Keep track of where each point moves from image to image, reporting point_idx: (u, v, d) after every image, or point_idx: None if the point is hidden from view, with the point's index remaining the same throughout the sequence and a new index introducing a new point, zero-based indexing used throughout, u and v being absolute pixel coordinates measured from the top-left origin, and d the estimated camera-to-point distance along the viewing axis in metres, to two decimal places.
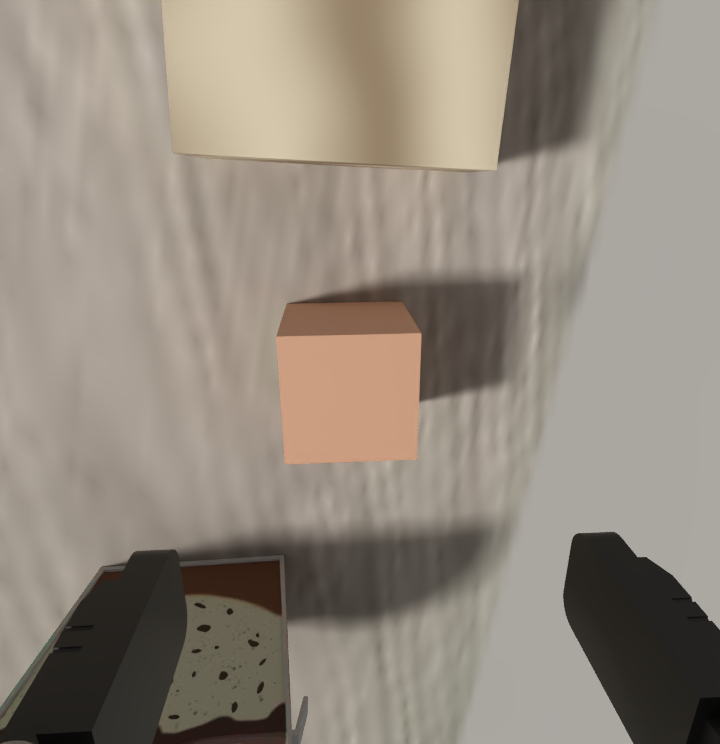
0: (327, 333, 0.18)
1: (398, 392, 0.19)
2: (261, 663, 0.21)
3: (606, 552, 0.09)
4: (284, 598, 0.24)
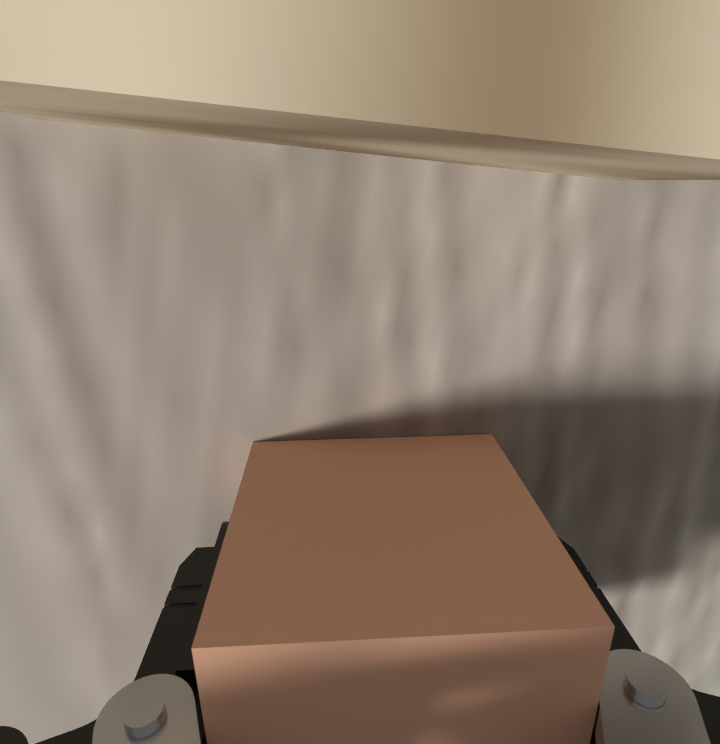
0: (341, 625, 0.06)
1: None
2: None
3: None
4: None
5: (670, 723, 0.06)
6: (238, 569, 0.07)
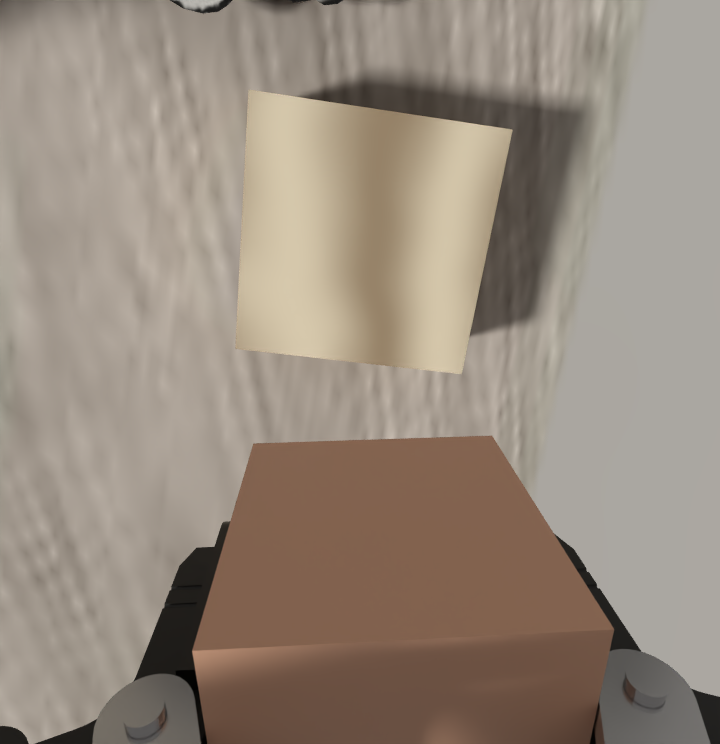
0: (342, 627, 0.06)
1: None
2: None
3: None
4: None
5: (670, 723, 0.06)
6: (238, 571, 0.07)
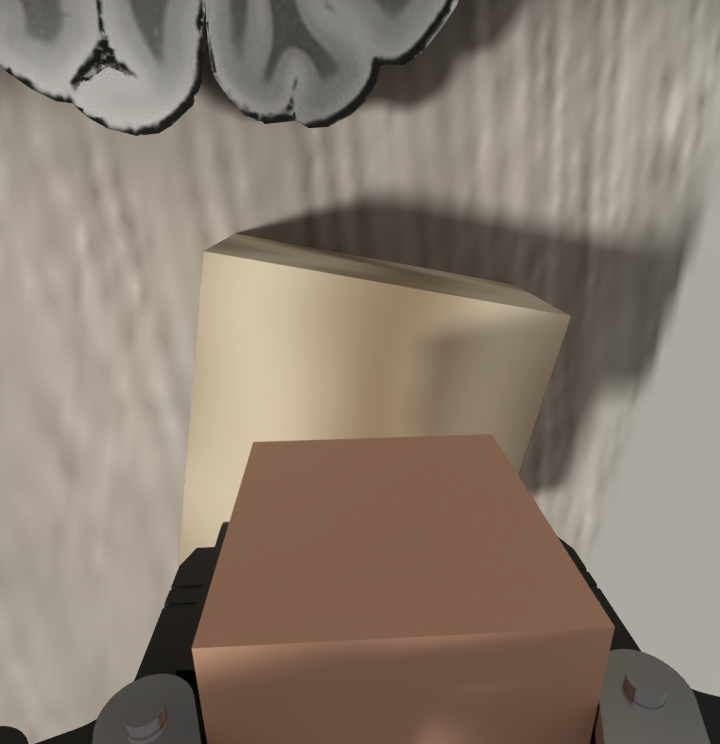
0: (342, 625, 0.06)
1: None
2: None
3: None
4: None
5: (670, 723, 0.06)
6: (238, 569, 0.07)
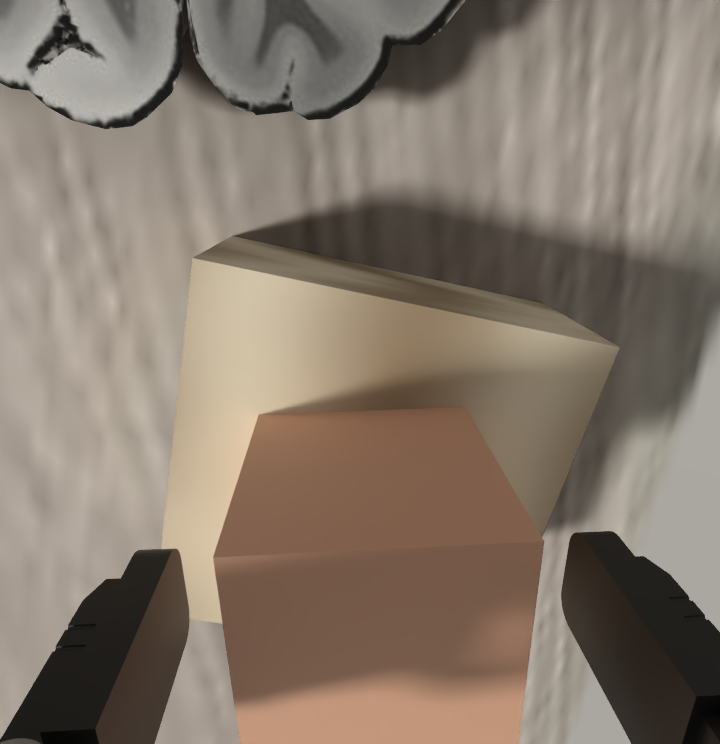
0: (330, 542, 0.08)
1: (485, 652, 0.09)
2: None
3: (603, 551, 0.09)
4: None
5: None
6: (248, 506, 0.09)
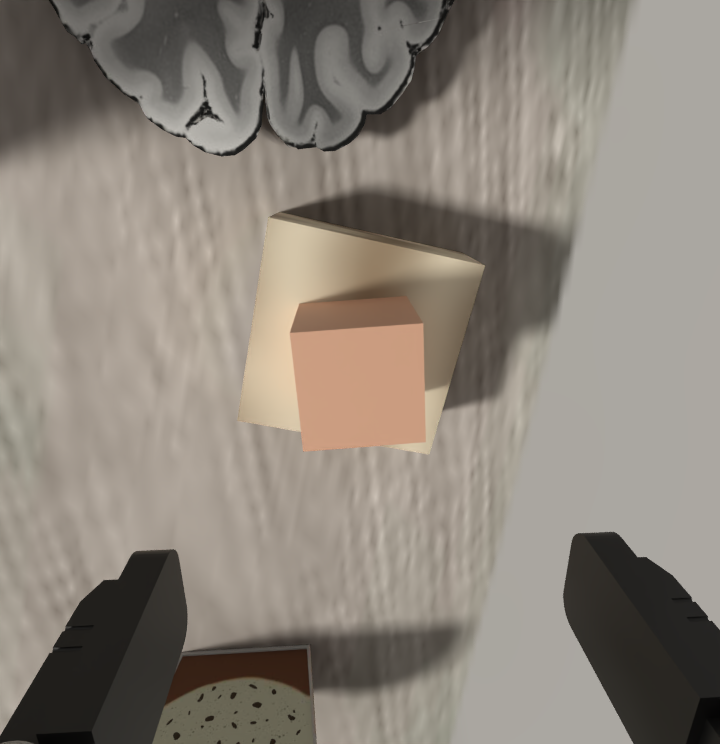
0: (336, 328, 0.19)
1: (405, 379, 0.20)
2: (297, 733, 0.31)
3: (606, 552, 0.09)
4: (311, 682, 0.34)
5: None
6: (300, 323, 0.20)
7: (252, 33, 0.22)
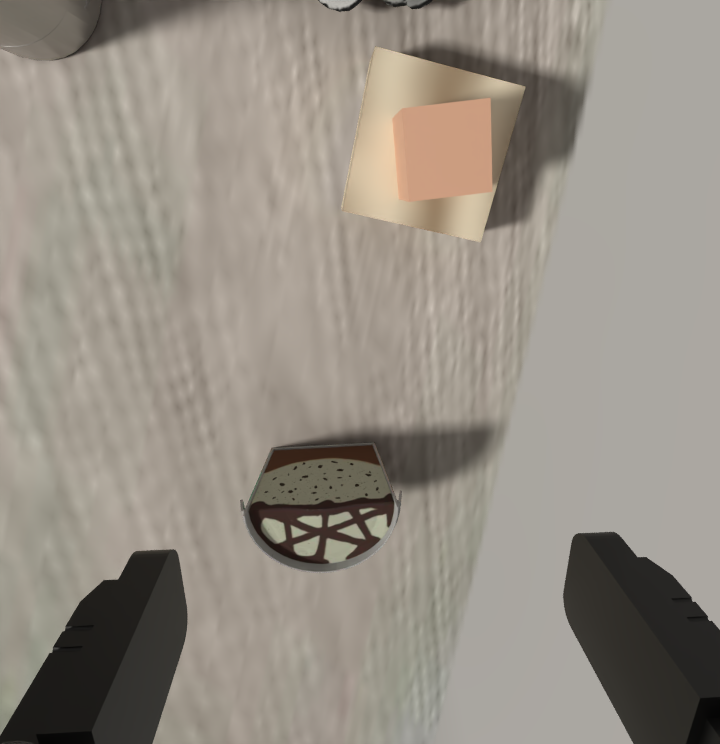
0: (432, 105, 0.29)
1: (478, 142, 0.29)
2: (375, 481, 0.41)
3: (606, 552, 0.09)
4: (380, 458, 0.44)
5: None
6: None
7: None
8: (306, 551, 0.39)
